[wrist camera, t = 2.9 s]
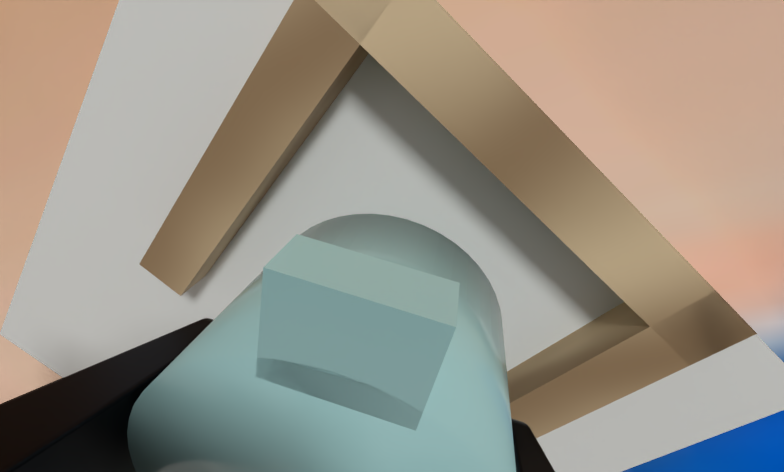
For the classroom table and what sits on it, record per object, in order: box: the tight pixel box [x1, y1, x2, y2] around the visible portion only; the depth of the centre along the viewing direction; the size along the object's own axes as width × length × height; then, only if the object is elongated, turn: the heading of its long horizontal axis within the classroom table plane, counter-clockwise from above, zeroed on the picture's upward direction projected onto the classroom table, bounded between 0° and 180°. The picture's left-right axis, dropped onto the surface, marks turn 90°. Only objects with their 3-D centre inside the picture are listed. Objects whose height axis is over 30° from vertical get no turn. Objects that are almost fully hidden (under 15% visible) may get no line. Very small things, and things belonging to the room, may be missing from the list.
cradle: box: [139, 0, 757, 438], centre depth 10 cm, size 12×10×1 cm
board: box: [0, 0, 784, 472], centre depth 14 cm, size 20×21×1 cm
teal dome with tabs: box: [127, 214, 516, 472], centre depth 8 cm, size 12×6×4 cm, turn 167°
